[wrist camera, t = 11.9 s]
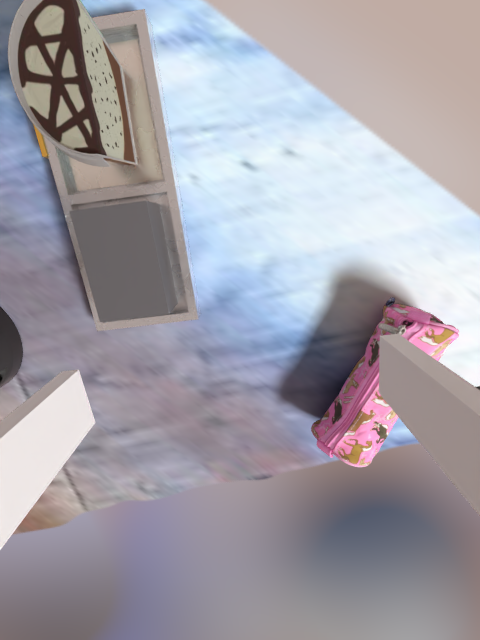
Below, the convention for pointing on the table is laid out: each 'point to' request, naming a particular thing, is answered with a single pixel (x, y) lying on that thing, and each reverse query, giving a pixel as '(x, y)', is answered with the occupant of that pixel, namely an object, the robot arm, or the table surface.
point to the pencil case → (376, 387)
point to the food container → (70, 82)
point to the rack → (133, 180)
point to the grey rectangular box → (126, 260)
